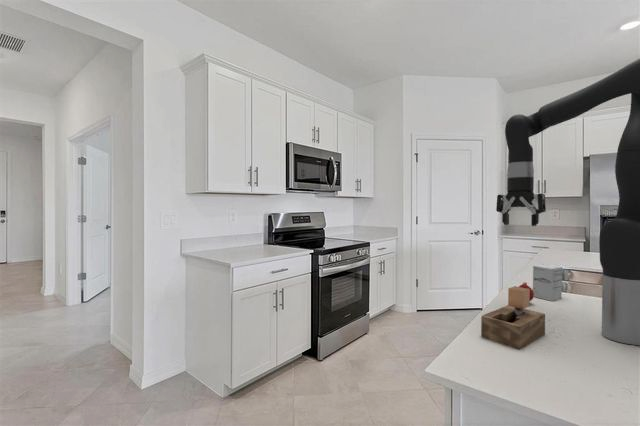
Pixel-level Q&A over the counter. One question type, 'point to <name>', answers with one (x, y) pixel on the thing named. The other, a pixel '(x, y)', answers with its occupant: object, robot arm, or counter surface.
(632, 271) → the robot arm
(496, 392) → the counter surface
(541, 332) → the keyhole block
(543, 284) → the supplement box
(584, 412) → the counter surface
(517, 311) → the brown square-topped part
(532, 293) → the onion
